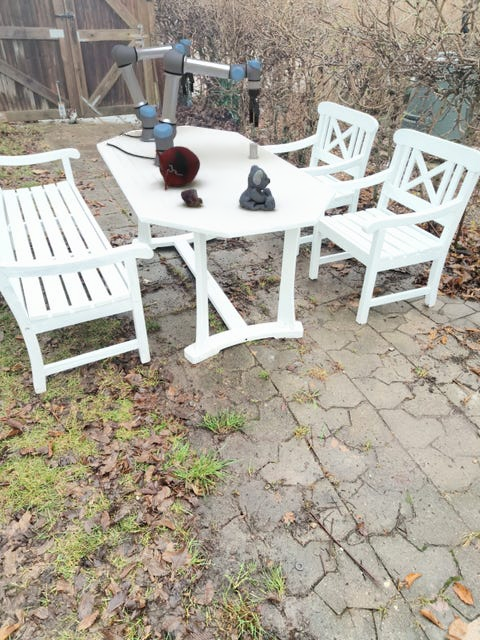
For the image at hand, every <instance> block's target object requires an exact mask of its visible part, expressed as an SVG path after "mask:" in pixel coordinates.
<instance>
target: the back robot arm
mask: <svg viewBox="0 0 480 640" xmlns="http://www.w3.org/2000/svg"><path fill="white" fill-rule="evenodd" d="M191 47H192V46H191V41H190V40H189V38H187V39H186V38H185V39H180V40H179V42H166V43H165V44H163V45H153V46H151V45H150V46H142V47H136V46H133V45H132V46H128V45H125V44H120V43H119V44H116V45H114V47H112V50H111V57H112V59H113V61H114V62H115V64H116V67H117V69H118V70H119V71H120V72H121V73H122V76H123V79H124V82H125V84H126V86H127V90H128V92H129V94H130V96H131V99H132V102H133V106H132V107H133V110H134V114H135V117H136V118H137V120H139V122H141V128H142V131H141V135H137V136H136V135H131V134H127V135H126V133H119V135H118V136H119V137H120V136H128V137H130V138H138V139H139V138H140V140H141V141H142V142H147V143H148V142H155V136H154V127H155V126H156V125H158V119H157V117H158V116H157V110H156V107H155V106H153V105H149V102H148V100H146V99H145V97H144V94H143V91H142V88H141V86H140V84H139V81H138V79H137V76H136V73H135V71H134V67H133V64H134V63H139V61H144V60H151V59H152V60H154V59H163V56H164V54H165V53H166V52H167V51H169V50H170V49H178V50H180V51H181V52H182V53H183V55H186V56H187V57H188V58H192V49H191ZM187 79H188V80H189V89H190V90H189V91H190V93H195V91H194V90H195V88H194V84H195V77H194V73H190V72H186V73H185V74H184V73H183V75H182V77H181V78H180V86H181V88H182V96H187V85H186V83H187Z"/></svg>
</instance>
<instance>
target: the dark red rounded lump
mask: <svg viewBox="0 0 480 640" xmlns="http://www.w3.org/2000/svg"><path fill="white" fill-rule="evenodd" d="M156 153H157V155H158V156H159V166H158V170H159V173H160V175H161V177H162V179H163V181H164V190H166V191H167V189H168V186H173V187H176V186H177V187H182V186H186V185H190V183H192V182H193V181H194V180H195V179H196V177H197V176H198V173H199V171H200V168H201V161H200V159H199V157H198V156H197V154H196V153H194V152H193V151H192V150H191V149H190V148H188V147H186V146H182V145H176V146H175V145H174V147H171V148H169V149H168V150H166V151H164V152H163V153H162V154H160V153H159V152H158V151H157V150H156V149H155V154H156Z"/></svg>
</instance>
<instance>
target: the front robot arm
mask: <svg viewBox="0 0 480 640" xmlns="http://www.w3.org/2000/svg"><path fill="white" fill-rule="evenodd" d="M162 64H163V74H164V75H165V81H164V90H163V98H162V99H163V101H162V110H161V117H159V118H158V123H157V125H156V126H155V127H154V136H155V141H154V145H155V150H157V151H158V152H159V153H160V154H162V153H163V152H164V151H166V150H168V149H169V148H171V147H175V143H174V141H175V138H176V136H177V135H178V134H177V133H178V129H177V128H178V127H177V126H178V120H177V119H176V115H177V114H176V113H177V105H178V98H179V97H178V96H179V88H180V87H179V86H180V80H181V77H182V75H184V74H185V73H186V72H190V73H193V74H197V75H201V76H202V75H203V76H208V77H214V78H219V79H225V80H230V81H234V82H241V81H243V80H244V79H247V88H248V90H247V96H249V99H248V108H247V109H248V110H247V111H248V113H249V114H248V123H249V124H253V127H254V128H259V127H260V123H259V122H260V120H259V119H260V115H261V113H260V112H261V111H260V103H259V98H258V97H259V96H261V89H260V88H261V84H262V82H261V61H260V60H258V59H252V60H248V61H247V63H246V64H245V63H244V64H243V63H241V64H240V63H239V64H238V63H232V64H228V63H227V64H226V63H221V62H216V61H211V60H205V59H199V58H195V57H194V58H193V57H191V58H188V57H187V56H186V55H183V53H182V52H181V51H180V50H178V49H170V50H169V51H167V52H166V53H165V54H164V56H163V58H162ZM183 73H184V74H183ZM106 145H108V146H112V147H114V148H116V149H118V150H120V151H121V152H123V153H125V154H127V155H130V156H133V157H137V158H143V159H148V160H153V161H154V165H155V166H157V167H159V156H158V155H157V153H156V152H155V155H154V157H151V156H145V155H139V154H134V153H131V152H128V151H126V150H124V149H122V148H121V147H119V146H117V145H114V144H112V143H108V142H107V143H106Z"/></svg>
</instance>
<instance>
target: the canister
mask: <svg viewBox="0 0 480 640" xmlns="http://www.w3.org/2000/svg"><path fill="white" fill-rule="evenodd" d="M258 147H259V145H258V143H257V142H251V143H249V159H251V160H253V159H254V160H255V159H258Z"/></svg>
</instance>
